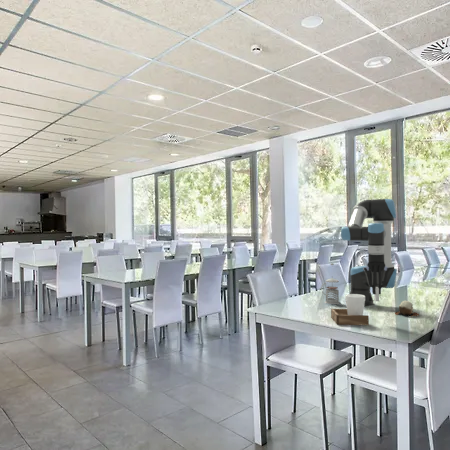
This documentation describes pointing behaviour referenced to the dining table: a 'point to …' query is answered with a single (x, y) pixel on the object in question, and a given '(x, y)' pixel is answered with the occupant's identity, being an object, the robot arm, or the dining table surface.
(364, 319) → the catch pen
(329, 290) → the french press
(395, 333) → the dining table surface
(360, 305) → the foam cup
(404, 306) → the white and brown lump
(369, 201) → the robot arm
